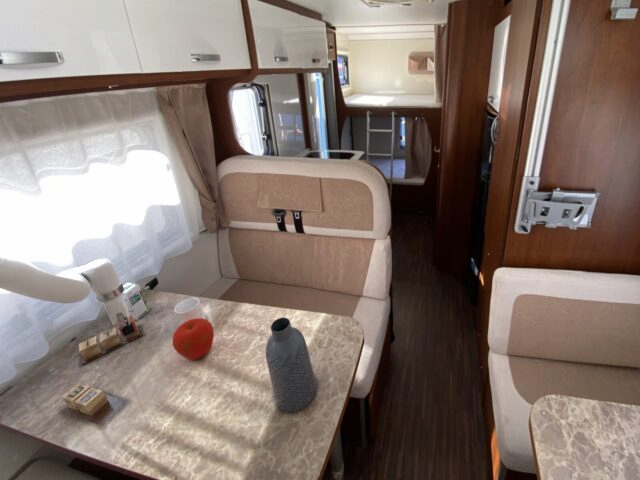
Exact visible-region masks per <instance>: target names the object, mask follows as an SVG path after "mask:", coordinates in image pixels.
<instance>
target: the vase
mask: <svg viewBox="0 0 640 480" xmlns="http://www.w3.org/2000/svg"><path fill="white" fill-rule="evenodd" d="M270 332H271V334H270V336H269V338H268V339H267V342H266V344H265V360H266V364H267V369H268V375H269V378H270V382H271V386H272V391H273V395H274V400H275V404H276V406H277V407H278V408H279V409H280V410H281V411H282V412H285V413H290V414H291V413H296V412H299V411H302V410H303V409H305V408H306V407H307V406H308V405H310V403H311V402H312V401H313V399H314V397H315V395H316V391H317V380H316V377H315V374H314V369H313V364H312V361H311V357H310V354H309V350H308V345H307V342H306V339H305V337H304V335H303V333H302V332H301V330H299V329H298V328H297V327H294V326H292V323H291V320H290V319H289V318H287V317H280V318H277V319H275V320H274V321H273V322H272V323H271V325H270Z"/></svg>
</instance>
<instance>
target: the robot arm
mask: <svg viewBox="0 0 640 480" xmlns="http://www.w3.org/2000/svg"><path fill="white" fill-rule="evenodd" d="M123 286H124V285H123V283H122V281H121V279H120V277H119V274H118V272H117V271H116V269H115V267H114V264H113V263H112V261H111V260H110V259H108V258H99V259H95V260H93V261H90V262H89V263H87V264H85V265H84V264H83V265H81V266H77V267H73V268H69V269H66V270H63V271H61V272H59V273H57V274H53V273H51V272H48V271H46V270H44V269H41V268H39V267H38V266H36V265H34V264H32V263H31V262H29V261H28V260H25V259H23V258H20V257H16V256H11V255H7V254H2V253H0V289H2V290H5V291H7V292H11V293H13V294H17V295H20V296H24V297H27V298H31V299H35V300H39V301H45V302H52V303H56V304H75V303H78V302H81V301H83V300H84V299H86V298H87V297H88V296H89V295H90V293H91V291H92V293H93V294H94V297H95V298H96V300H97V302H99V303H100V304H101V303H102V304H103V306H104V309H105V311H106V314H107V315H108V317H109V319H110V321H111V323H112V325H113V326H116V325H118V324H117V323H119V325H120V327H121V330H122V332H123V334H124V336H127V335H129V334H131V333H133V332H135V329H134V327H133V325H132V323H130V321H129V317H130V315H129V311H128V307H127V304H126V301H125V299H124V297H123V295H122V294H123V293H124V291H125V289H124V287H123ZM125 320H127V322H125Z"/></svg>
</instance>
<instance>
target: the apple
mask: <svg viewBox="0 0 640 480" xmlns="http://www.w3.org/2000/svg"><path fill="white" fill-rule="evenodd" d="M214 336H215V332H214V326H213V324H212V323H211V322H210V321H209V320H208V319H207V318H206V319H203V318H195V319H191V320H188V321H186V322H184V323H183V324H182V325H180V324H179V326H178V327H177V329H176V330H175V331H174V333H173V335H172V347H173V349H174V350H175V351H176V353H178V354H179V355H180V356H182V357H183V358H185V359H187V360H189V361H196V360H199V359H201V358H203V357H205V356H206V355H207V354H208V353H209V352H210V350H211V348H212V346H213V341H214Z"/></svg>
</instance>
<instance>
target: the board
mask: <svg viewBox="0 0 640 480" xmlns="http://www.w3.org/2000/svg"><path fill="white" fill-rule="evenodd" d="M137 329H138V330H136V331H135V332H133V333H131V334H129V335H127V336H124V337H123V336H122V334H121V333H119V332H118V330H117V328H116V327H113V328H110V329H108V330H106V331H104V332H102V333H100V334H99V339H98V337H97V336H96V335H95V336H93V337H91V338H89V339H86V340H84V341H82V342H80V343H78V347H79V348H78V352H79V353H80V355H81V365H82V366H84V365H86V364H88V363H90V362H92V361H95V360H96V359H98V358H101V357H103V356H105V355H107V354H108V353H110V352H113V351H115V350H117V349H119V348H121V347H123V346H124V345H126V344H127V343H131V342H133V341H135V340H137V339H140V338H141V337H143V336H144V335H143V332H142V329H141V325H140V324H138V325H137Z"/></svg>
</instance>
